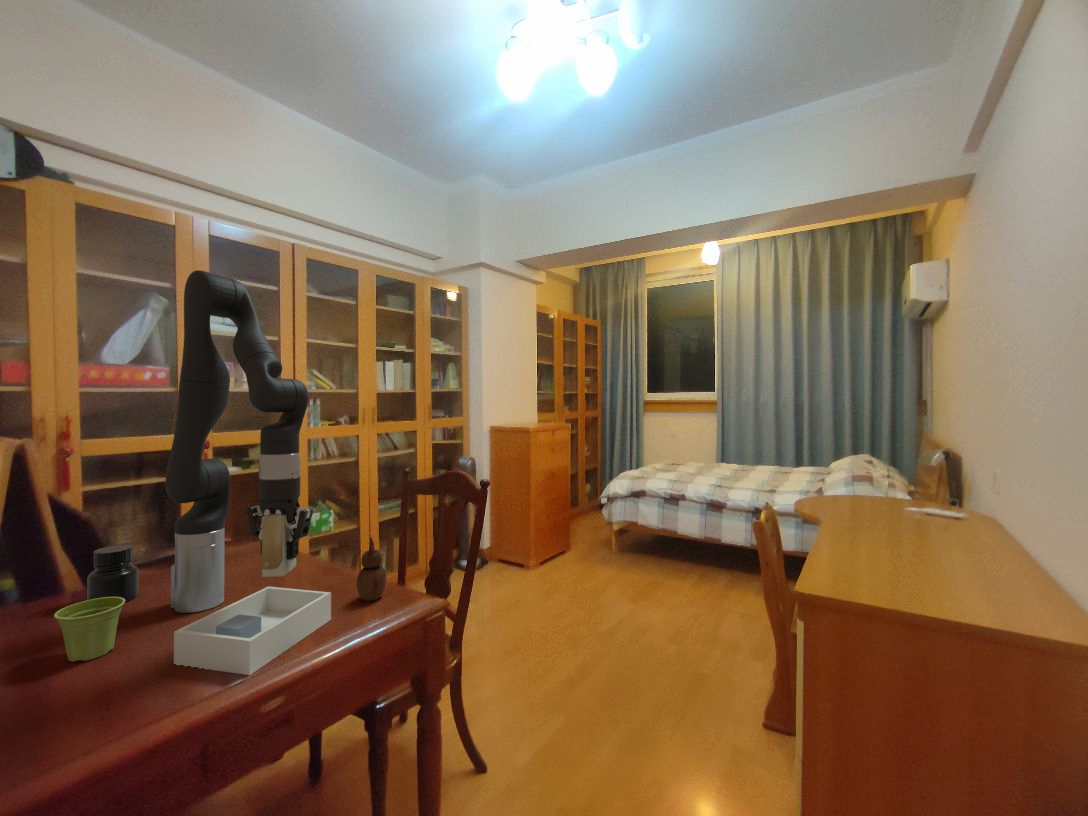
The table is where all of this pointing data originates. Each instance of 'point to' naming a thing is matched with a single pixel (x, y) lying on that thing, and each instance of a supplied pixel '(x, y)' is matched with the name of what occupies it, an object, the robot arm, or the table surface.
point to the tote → (281, 628)
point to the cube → (240, 626)
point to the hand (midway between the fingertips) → (279, 557)
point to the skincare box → (275, 546)
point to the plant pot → (90, 627)
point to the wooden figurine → (371, 575)
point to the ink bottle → (113, 574)
